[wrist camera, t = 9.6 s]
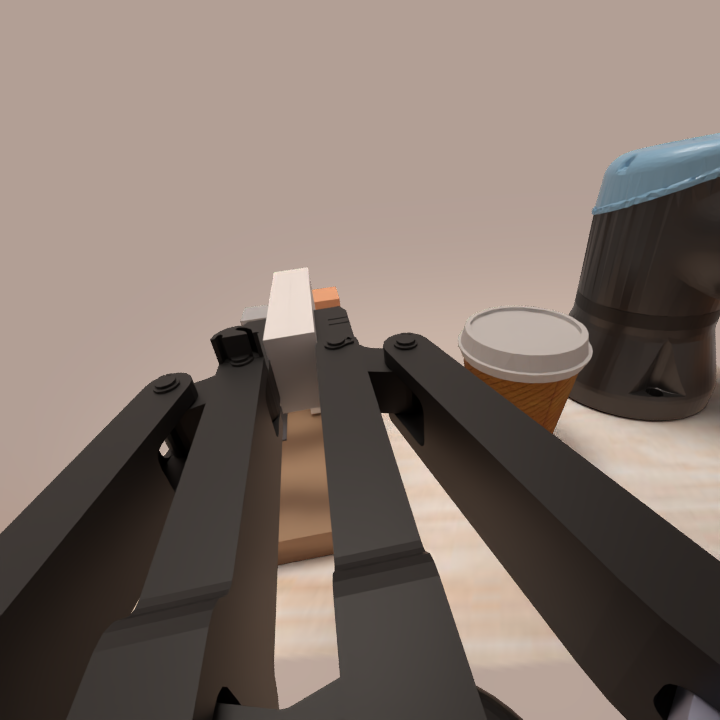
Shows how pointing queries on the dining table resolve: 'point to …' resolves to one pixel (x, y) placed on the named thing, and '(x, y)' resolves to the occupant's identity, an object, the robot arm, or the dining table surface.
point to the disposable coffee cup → (527, 356)
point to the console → (303, 490)
